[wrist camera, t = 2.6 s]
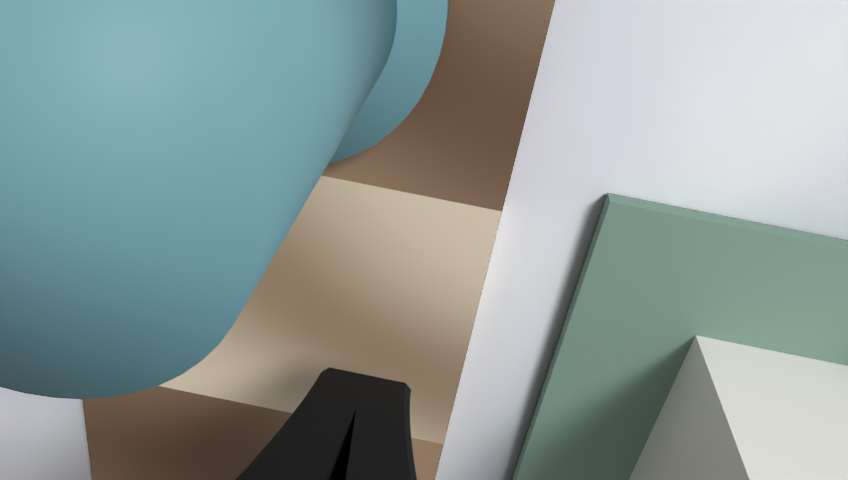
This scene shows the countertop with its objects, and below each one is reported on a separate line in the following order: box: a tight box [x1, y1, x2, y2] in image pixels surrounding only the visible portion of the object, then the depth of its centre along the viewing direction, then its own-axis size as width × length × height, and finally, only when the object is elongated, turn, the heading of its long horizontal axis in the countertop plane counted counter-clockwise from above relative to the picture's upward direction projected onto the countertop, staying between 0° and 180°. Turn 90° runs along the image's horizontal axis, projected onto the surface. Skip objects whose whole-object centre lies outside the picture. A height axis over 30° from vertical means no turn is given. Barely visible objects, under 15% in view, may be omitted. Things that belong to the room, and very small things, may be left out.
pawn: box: [0, 0, 449, 399], centre depth 7 cm, size 4×4×6 cm
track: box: [83, 0, 555, 480], centre depth 11 cm, size 20×7×1 cm, turn 171°
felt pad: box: [512, 193, 848, 480], centre depth 12 cm, size 8×10×1 cm
